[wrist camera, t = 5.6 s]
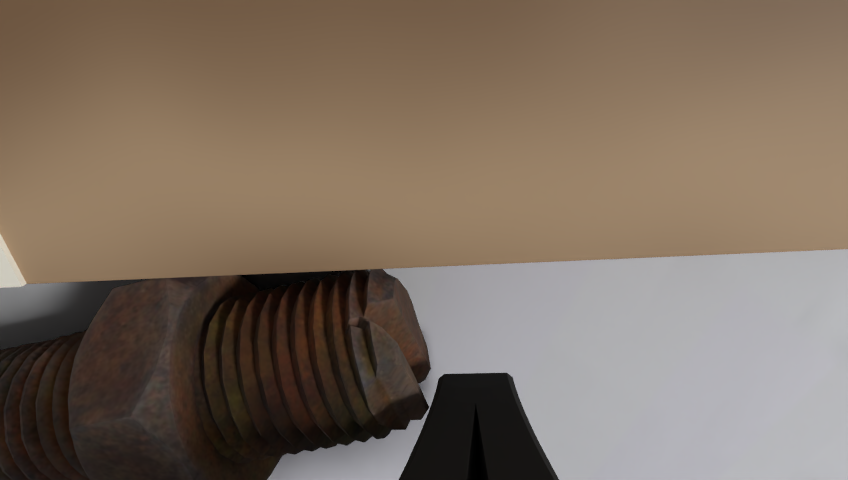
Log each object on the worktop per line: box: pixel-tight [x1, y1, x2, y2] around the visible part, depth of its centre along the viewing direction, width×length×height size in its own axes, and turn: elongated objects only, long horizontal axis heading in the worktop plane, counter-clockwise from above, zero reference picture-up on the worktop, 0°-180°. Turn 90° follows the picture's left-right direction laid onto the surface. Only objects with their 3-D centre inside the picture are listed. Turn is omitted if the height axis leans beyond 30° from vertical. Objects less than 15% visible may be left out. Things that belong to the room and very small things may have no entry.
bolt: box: [0, 269, 431, 480], centre depth 10 cm, size 6×5×15 cm
